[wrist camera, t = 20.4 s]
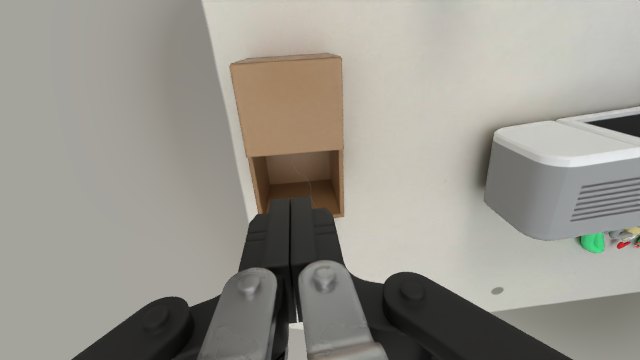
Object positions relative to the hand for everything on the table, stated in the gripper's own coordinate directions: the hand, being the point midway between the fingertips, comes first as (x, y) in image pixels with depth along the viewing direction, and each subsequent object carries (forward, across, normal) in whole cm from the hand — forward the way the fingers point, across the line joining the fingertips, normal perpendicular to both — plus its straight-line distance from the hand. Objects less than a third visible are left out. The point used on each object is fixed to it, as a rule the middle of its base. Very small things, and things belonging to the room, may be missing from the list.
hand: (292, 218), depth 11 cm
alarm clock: (+23, -36, +8) cm, 44 cm away
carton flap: (+14, 0, -1) cm, 14 cm away
